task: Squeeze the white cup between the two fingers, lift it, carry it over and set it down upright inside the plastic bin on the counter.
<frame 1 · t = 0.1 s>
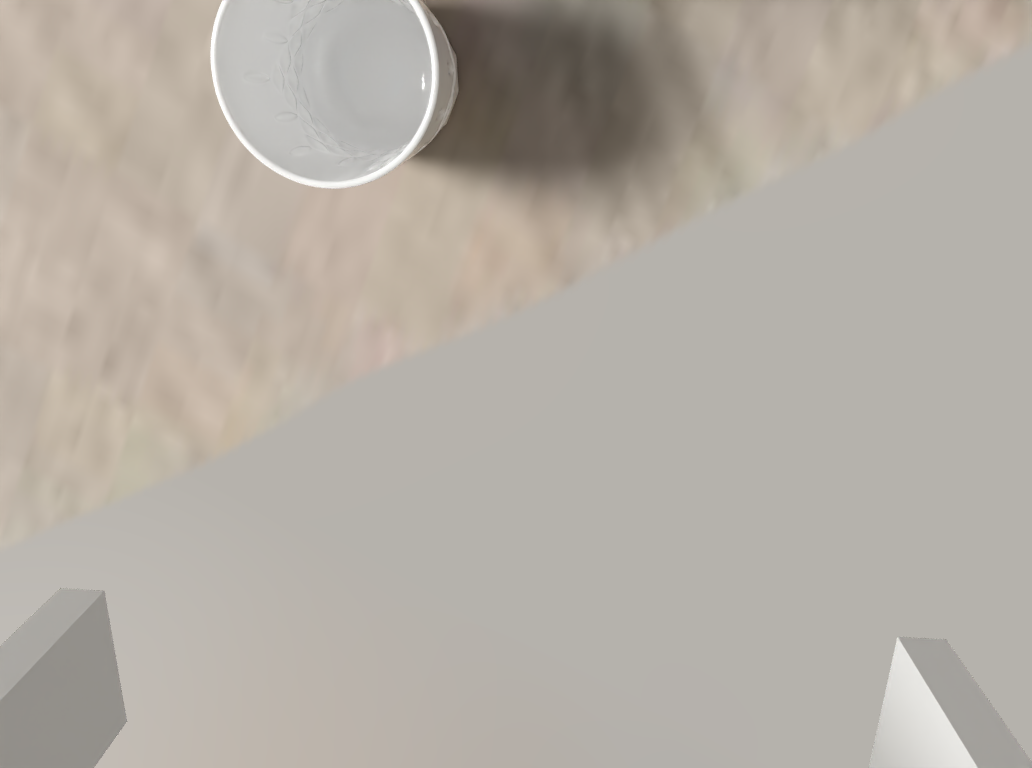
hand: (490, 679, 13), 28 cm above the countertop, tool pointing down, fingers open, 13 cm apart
white cup: (387, 77, 37), on the countertop
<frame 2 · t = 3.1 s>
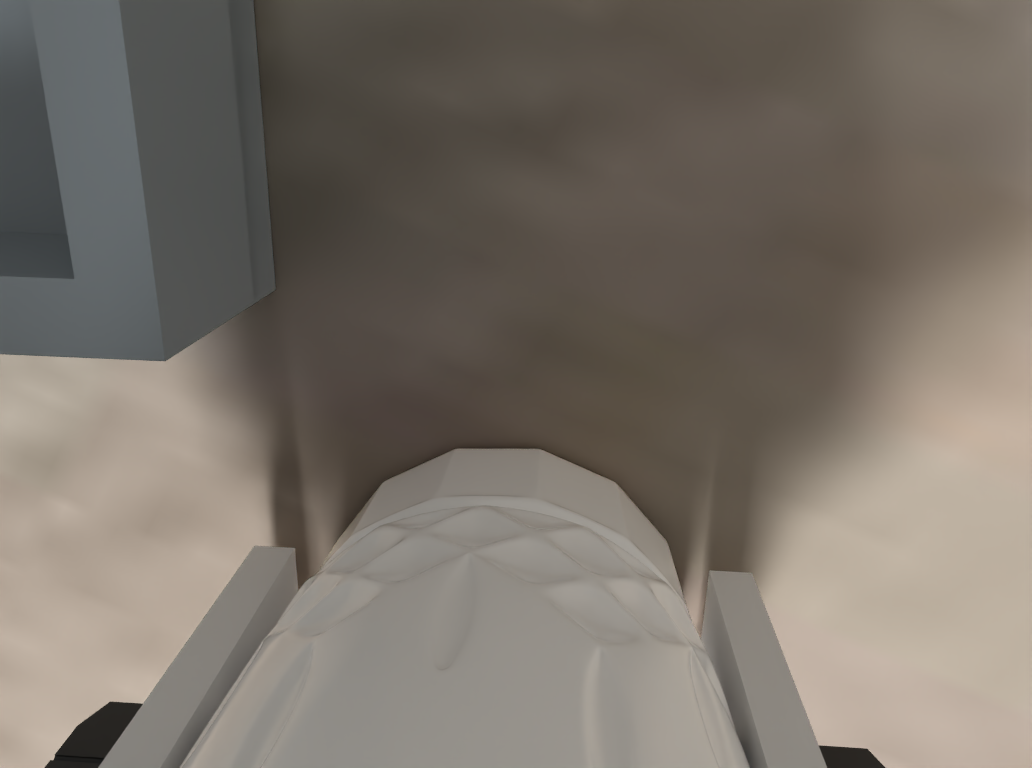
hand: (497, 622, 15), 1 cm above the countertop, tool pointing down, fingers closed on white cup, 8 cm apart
white cup: (504, 594, 16), on the countertop, touching gripper
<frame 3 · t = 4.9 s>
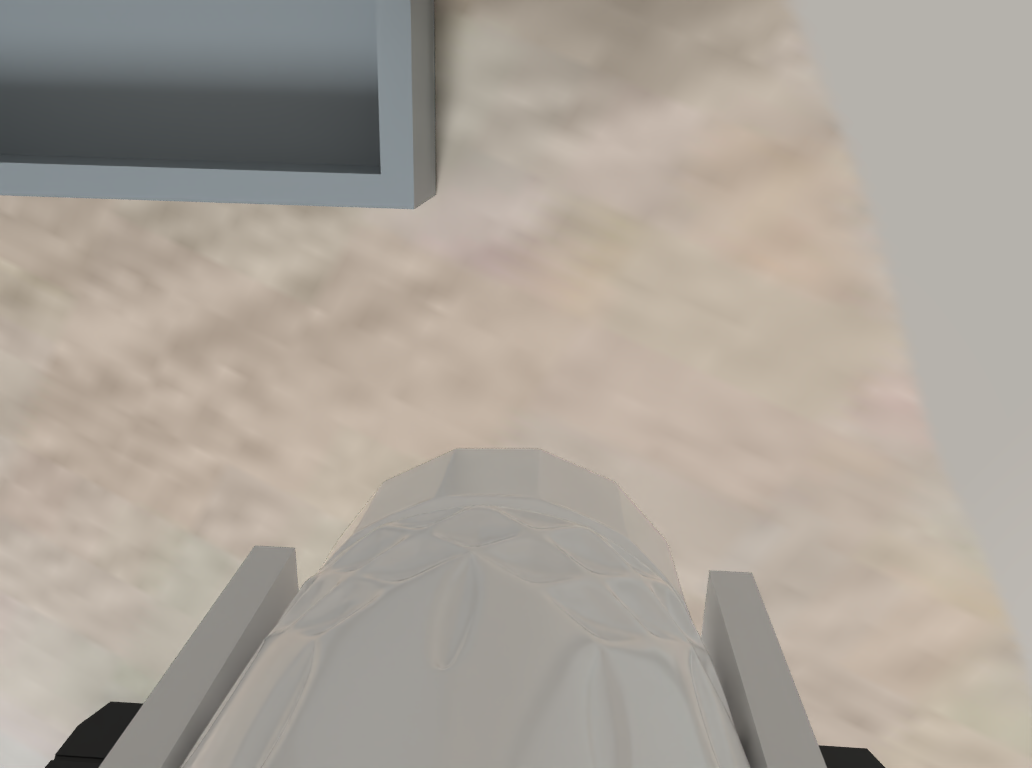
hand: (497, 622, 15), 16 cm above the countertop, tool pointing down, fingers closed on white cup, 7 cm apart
white cup: (504, 594, 16), point 15 cm above the countertop, touching gripper
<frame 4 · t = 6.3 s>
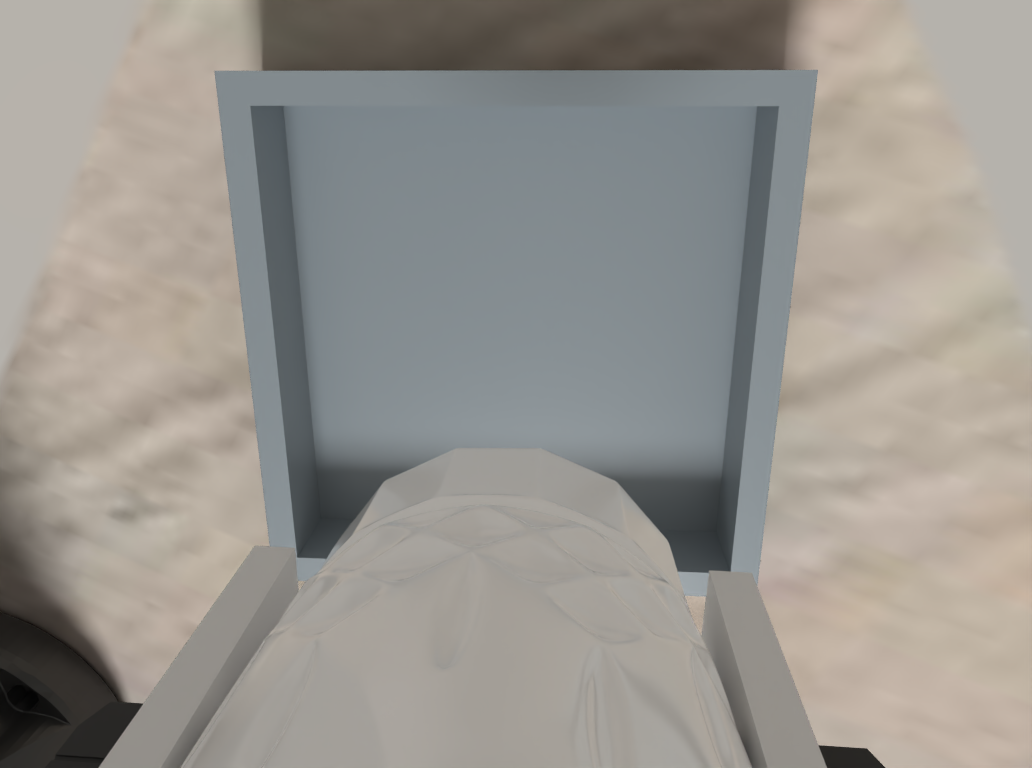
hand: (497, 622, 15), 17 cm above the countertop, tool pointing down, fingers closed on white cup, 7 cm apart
white cup: (505, 593, 16), point 16 cm above the countertop, touching gripper
bin: (517, 326, 31), on the countertop
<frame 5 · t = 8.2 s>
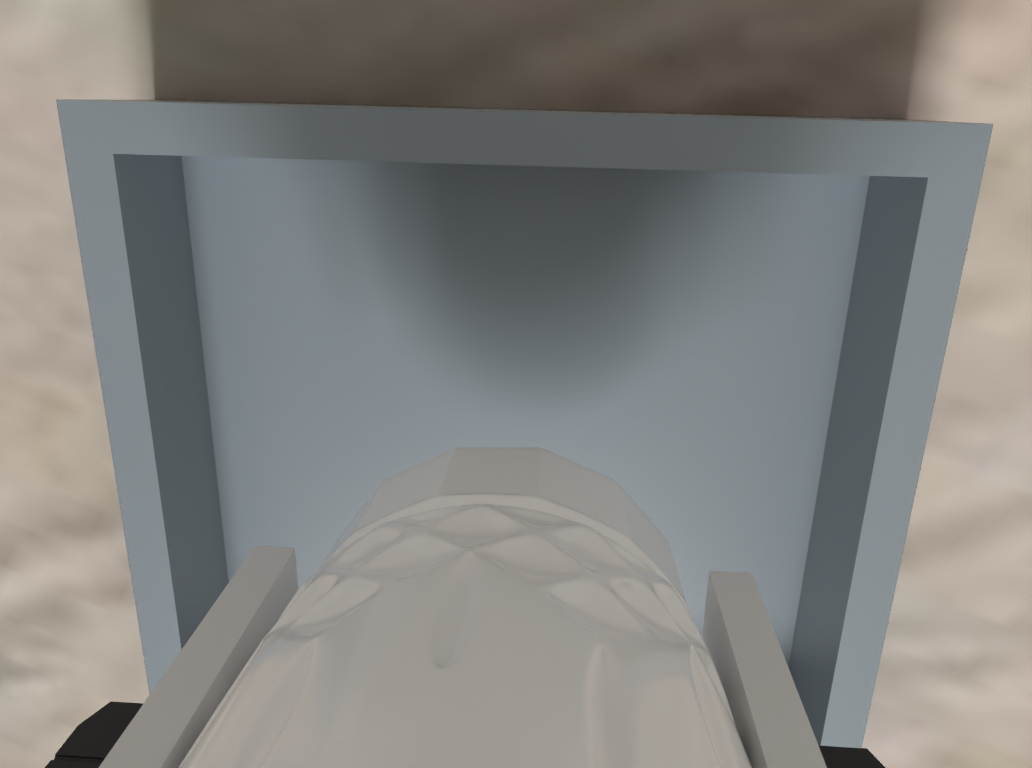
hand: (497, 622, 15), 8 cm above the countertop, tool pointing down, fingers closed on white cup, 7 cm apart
white cup: (504, 593, 16), point 7 cm above the countertop, touching gripper
bin: (513, 453, 22), on the countertop
when the fingers open (3 cm above the countertop, at t = 9.9 s): white cup drops 1 cm, resting on bin.
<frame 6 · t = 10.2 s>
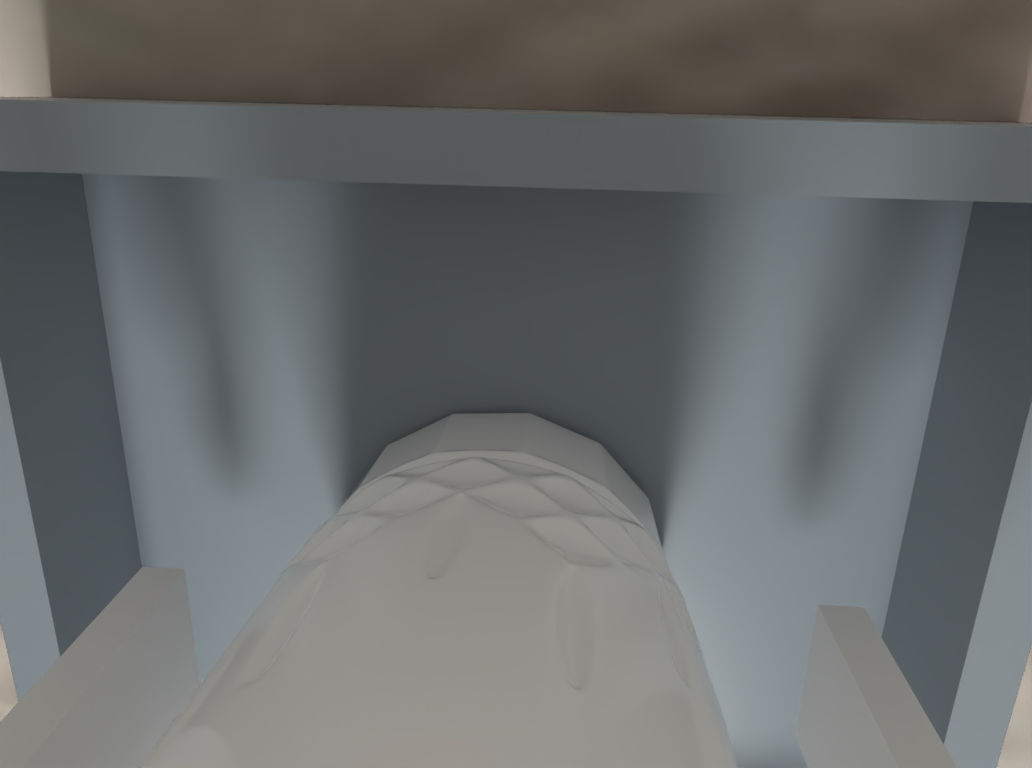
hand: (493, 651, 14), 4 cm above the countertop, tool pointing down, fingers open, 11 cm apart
white cup: (500, 550, 17), point 1 cm above the countertop, touching bin
bin: (509, 535, 18), on the countertop
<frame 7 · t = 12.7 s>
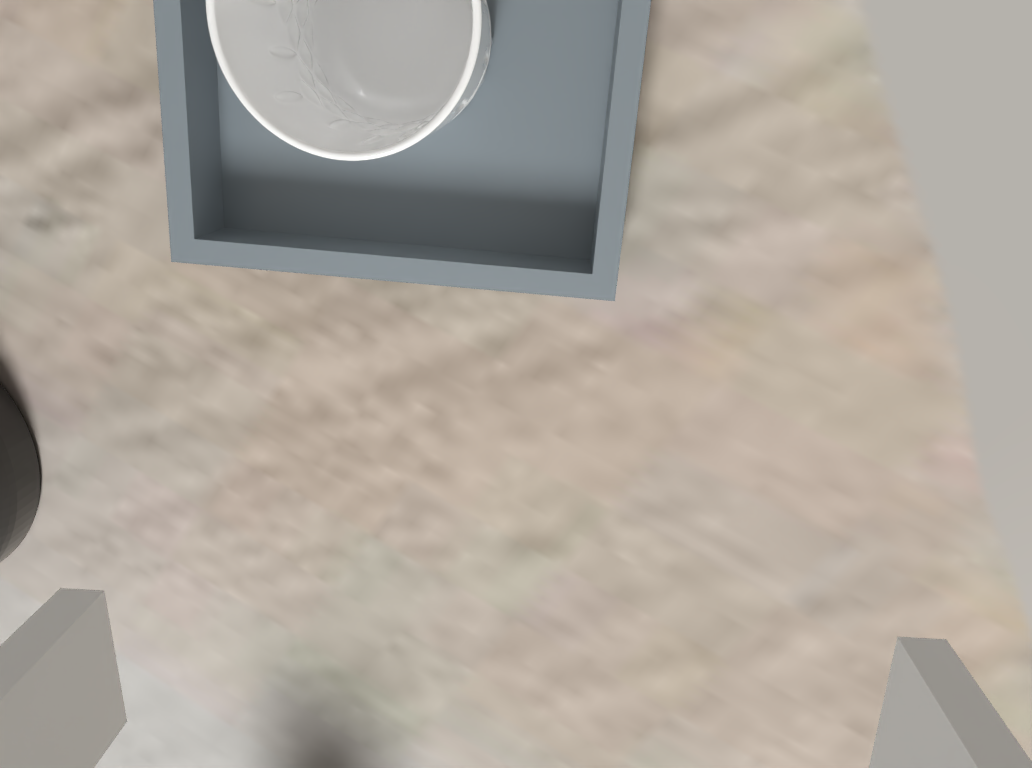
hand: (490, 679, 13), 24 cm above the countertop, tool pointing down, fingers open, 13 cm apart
white cup: (409, 41, 32), point 1 cm above the countertop, touching bin
bin: (416, 45, 33), on the countertop
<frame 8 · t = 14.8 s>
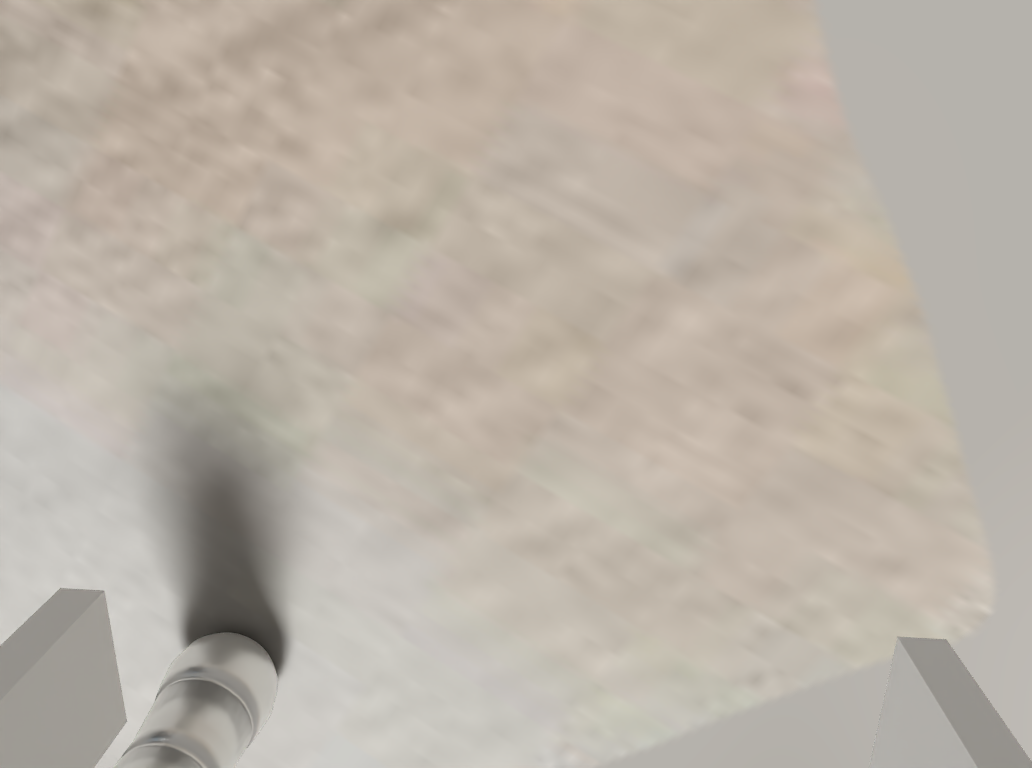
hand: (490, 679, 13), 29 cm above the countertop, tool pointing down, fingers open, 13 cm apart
plastic bottle: (238, 661, 50), on the countertop
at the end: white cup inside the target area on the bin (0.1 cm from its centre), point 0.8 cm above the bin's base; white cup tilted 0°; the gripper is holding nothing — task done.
